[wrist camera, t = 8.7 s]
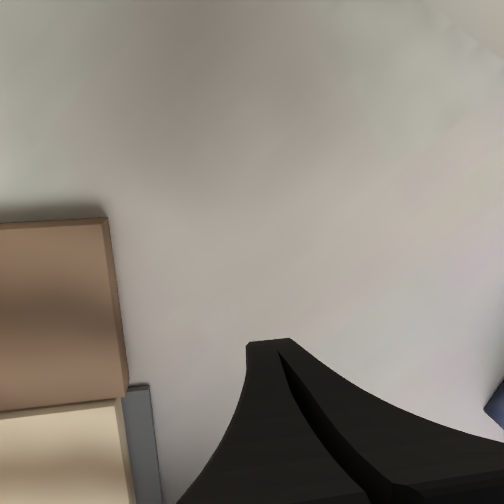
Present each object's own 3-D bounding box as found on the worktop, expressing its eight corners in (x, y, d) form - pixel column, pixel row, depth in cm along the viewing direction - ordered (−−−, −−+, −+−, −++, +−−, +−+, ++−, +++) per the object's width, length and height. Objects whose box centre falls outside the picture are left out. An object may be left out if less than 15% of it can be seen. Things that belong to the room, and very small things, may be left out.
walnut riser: (129, 379, 22) (125, 396, 20) (-52, 399, 20) (-70, 419, 19) (107, 217, 19) (101, 224, 18) (-102, 228, 18) (-127, 237, 16)
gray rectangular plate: (163, 510, 24) (163, 516, 24) (-30, 540, 23) (-34, 546, 23) (148, 385, 22) (148, 389, 21) (-71, 409, 20) (-76, 415, 20)
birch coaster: (136, 502, 23) (132, 526, 22) (-9, 525, 22) (-23, 551, 21) (119, 387, 21) (114, 406, 20) (-44, 406, 20) (-62, 427, 19)
